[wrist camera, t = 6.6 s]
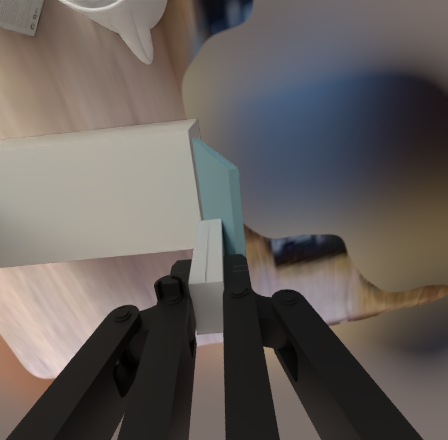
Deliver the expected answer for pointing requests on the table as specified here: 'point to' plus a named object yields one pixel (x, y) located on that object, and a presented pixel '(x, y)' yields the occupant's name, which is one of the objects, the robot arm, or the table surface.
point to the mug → (125, 20)
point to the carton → (99, 193)
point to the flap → (220, 195)
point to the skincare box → (20, 15)
